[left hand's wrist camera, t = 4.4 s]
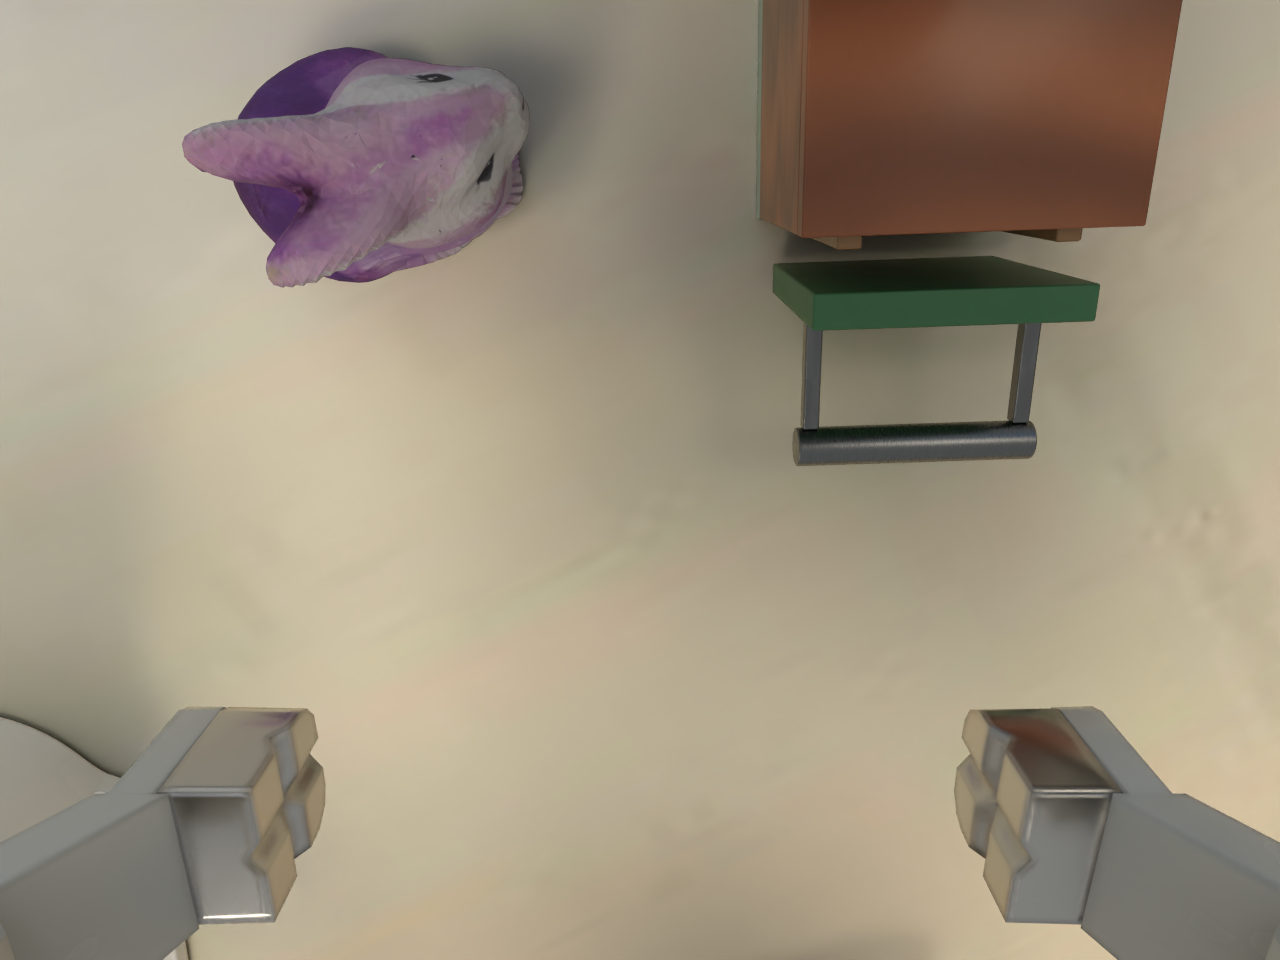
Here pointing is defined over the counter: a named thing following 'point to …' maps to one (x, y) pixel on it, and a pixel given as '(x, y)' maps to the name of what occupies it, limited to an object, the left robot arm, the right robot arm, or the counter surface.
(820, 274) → the drawer
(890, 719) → the counter surface
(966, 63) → the cabinet
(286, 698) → the counter surface
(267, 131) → the figurine
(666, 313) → the counter surface
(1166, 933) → the left robot arm
